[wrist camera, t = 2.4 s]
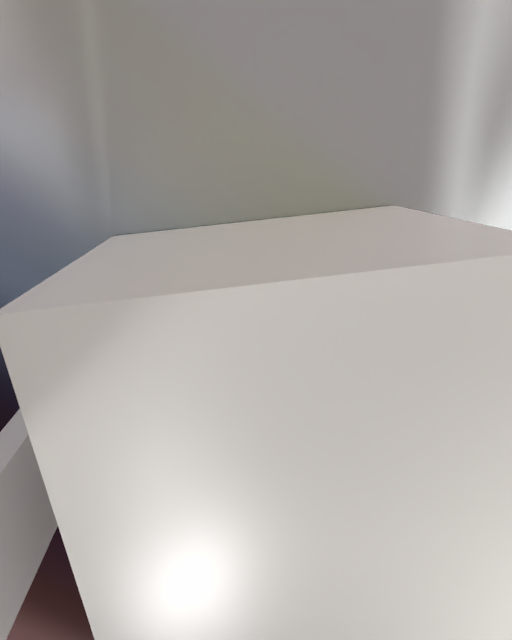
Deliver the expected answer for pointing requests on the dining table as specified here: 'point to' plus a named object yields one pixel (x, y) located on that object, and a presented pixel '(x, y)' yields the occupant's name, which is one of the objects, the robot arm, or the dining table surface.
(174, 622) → the white box
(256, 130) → the dining table surface
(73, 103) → the dining table surface
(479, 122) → the dining table surface
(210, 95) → the dining table surface
